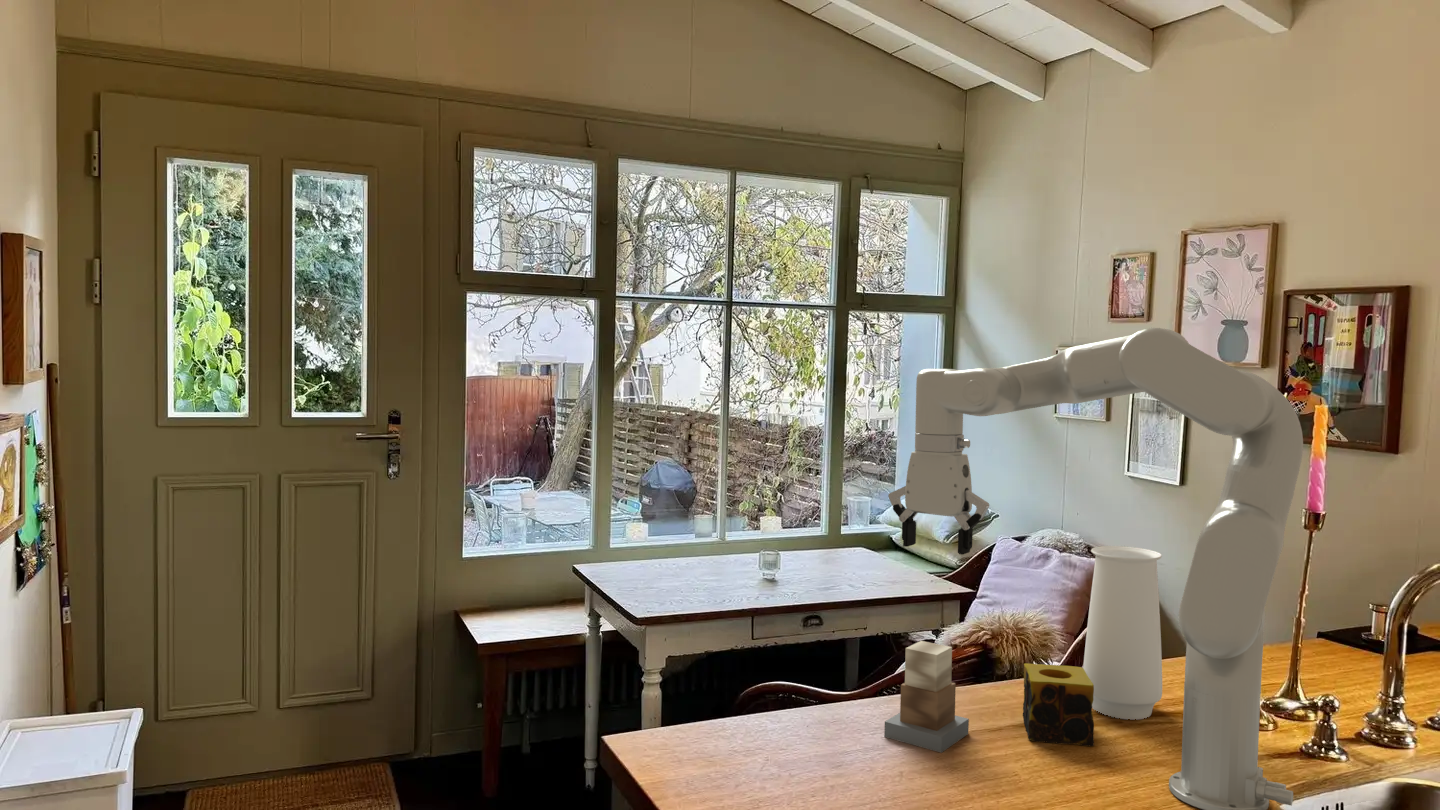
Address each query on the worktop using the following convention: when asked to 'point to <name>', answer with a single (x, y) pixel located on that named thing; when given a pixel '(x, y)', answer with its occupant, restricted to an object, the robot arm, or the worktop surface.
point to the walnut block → (927, 706)
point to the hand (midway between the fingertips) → (936, 549)
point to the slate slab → (927, 733)
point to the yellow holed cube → (1058, 704)
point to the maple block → (928, 666)
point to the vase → (1124, 632)
